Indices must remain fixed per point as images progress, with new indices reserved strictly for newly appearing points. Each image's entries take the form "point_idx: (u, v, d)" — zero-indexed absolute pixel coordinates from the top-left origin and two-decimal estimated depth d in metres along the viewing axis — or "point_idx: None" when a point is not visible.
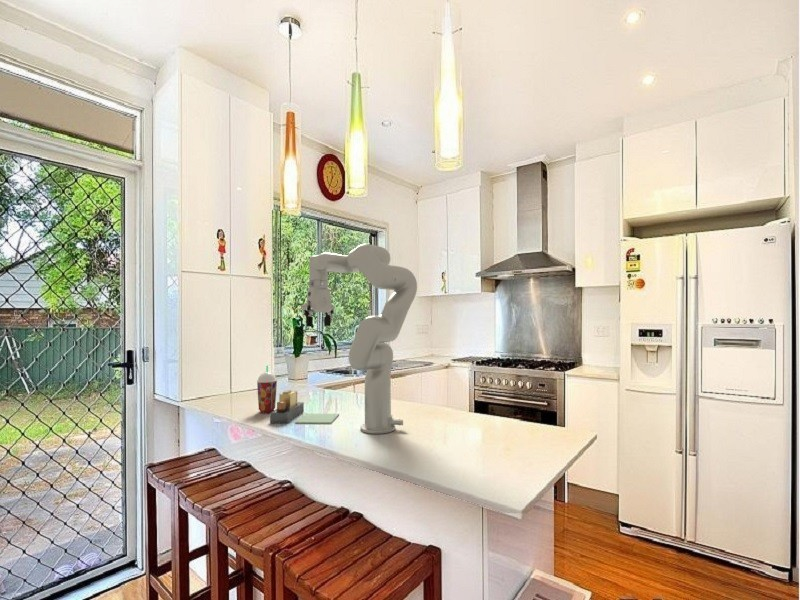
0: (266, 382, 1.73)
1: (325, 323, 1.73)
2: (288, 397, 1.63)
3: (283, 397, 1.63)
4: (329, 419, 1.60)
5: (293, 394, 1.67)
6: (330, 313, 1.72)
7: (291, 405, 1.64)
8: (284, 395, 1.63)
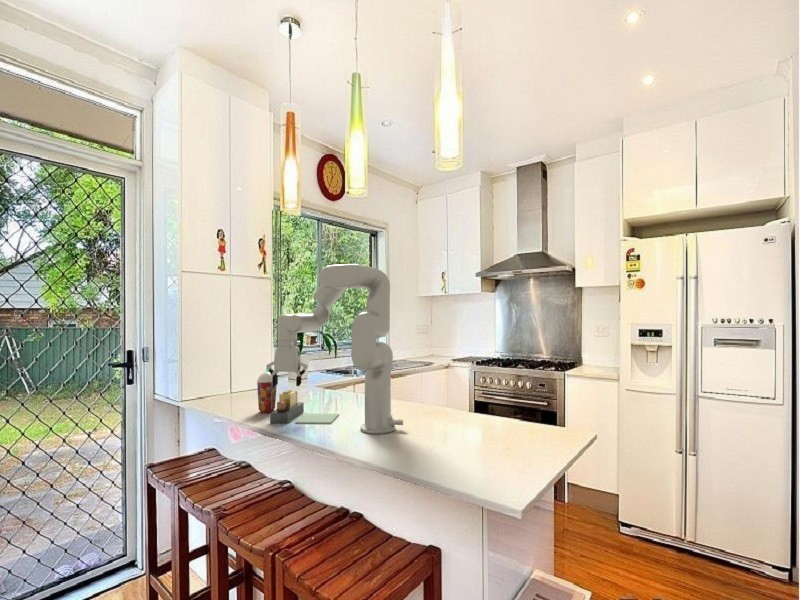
0: (266, 382, 1.73)
1: (275, 383, 1.67)
2: (288, 397, 1.63)
3: (283, 397, 1.63)
4: (329, 419, 1.60)
5: (293, 394, 1.67)
6: None
7: (291, 405, 1.64)
8: (284, 395, 1.63)
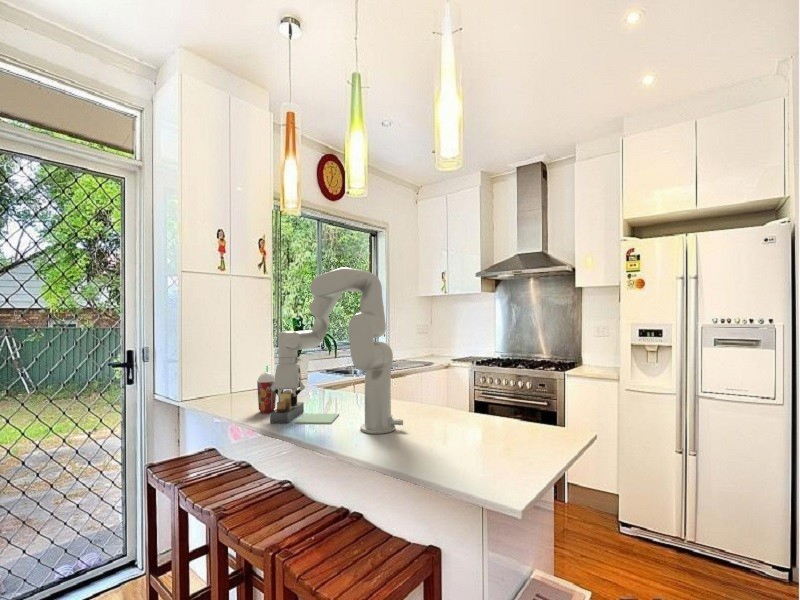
0: (266, 382, 1.73)
1: None
2: (288, 397, 1.63)
3: (283, 397, 1.63)
4: (329, 419, 1.60)
5: None
6: (280, 392, 1.69)
7: (291, 405, 1.64)
8: (284, 395, 1.63)
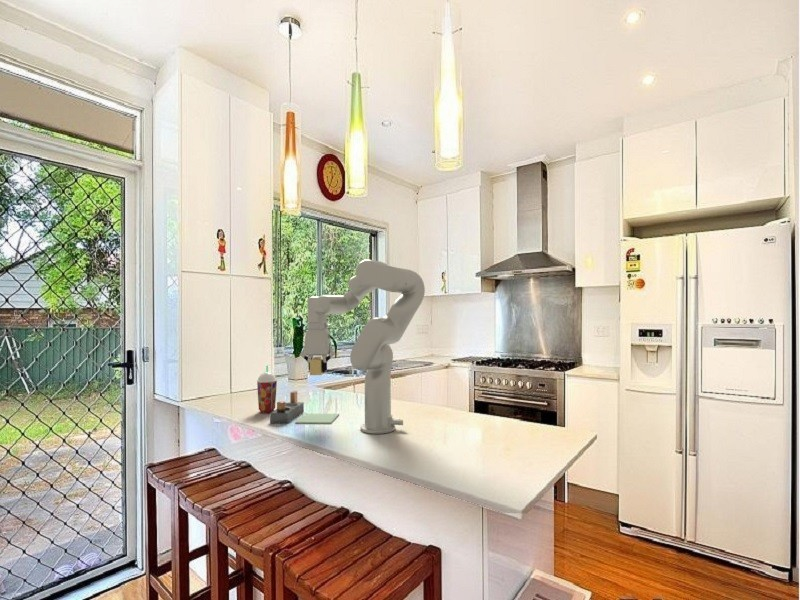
0: (266, 382, 1.73)
1: None
2: (318, 363, 1.60)
3: (313, 363, 1.60)
4: (329, 419, 1.60)
5: None
6: None
7: (321, 371, 1.61)
8: (314, 361, 1.60)
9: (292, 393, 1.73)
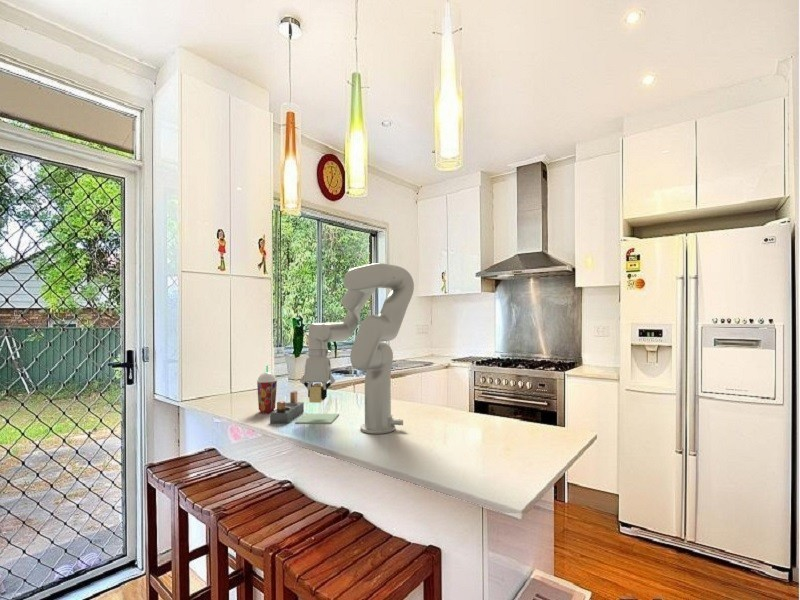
0: (266, 382, 1.73)
1: None
2: (318, 390, 1.60)
3: (313, 390, 1.60)
4: (329, 419, 1.60)
5: None
6: None
7: (321, 398, 1.61)
8: (314, 388, 1.60)
9: (292, 393, 1.73)
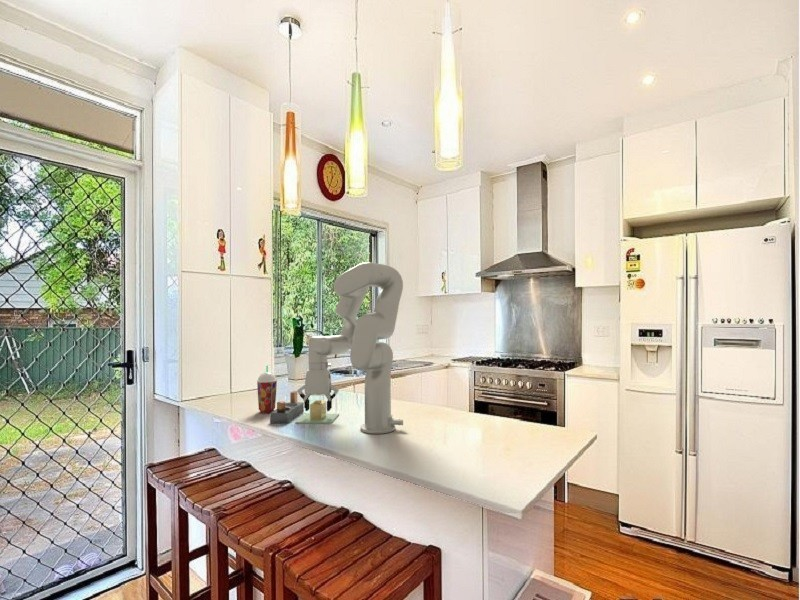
0: (266, 382, 1.73)
1: (307, 408, 1.62)
2: (319, 408, 1.59)
3: (314, 407, 1.59)
4: (329, 419, 1.60)
5: (323, 404, 1.63)
6: None
7: (322, 415, 1.60)
8: (315, 405, 1.59)
9: (292, 393, 1.73)
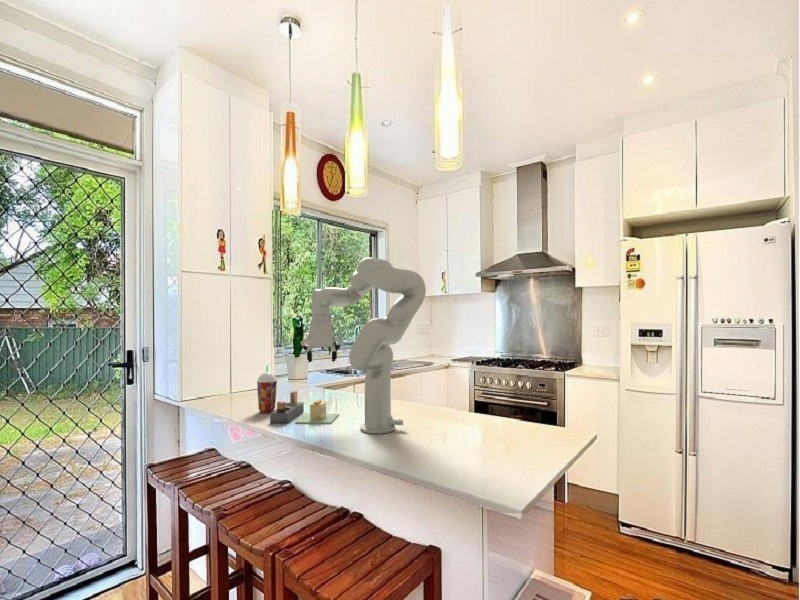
0: (266, 382, 1.73)
1: (310, 359, 1.64)
2: (319, 408, 1.59)
3: (314, 407, 1.59)
4: (329, 419, 1.60)
5: (323, 404, 1.63)
6: None
7: (322, 415, 1.60)
8: (315, 405, 1.59)
9: (292, 393, 1.73)
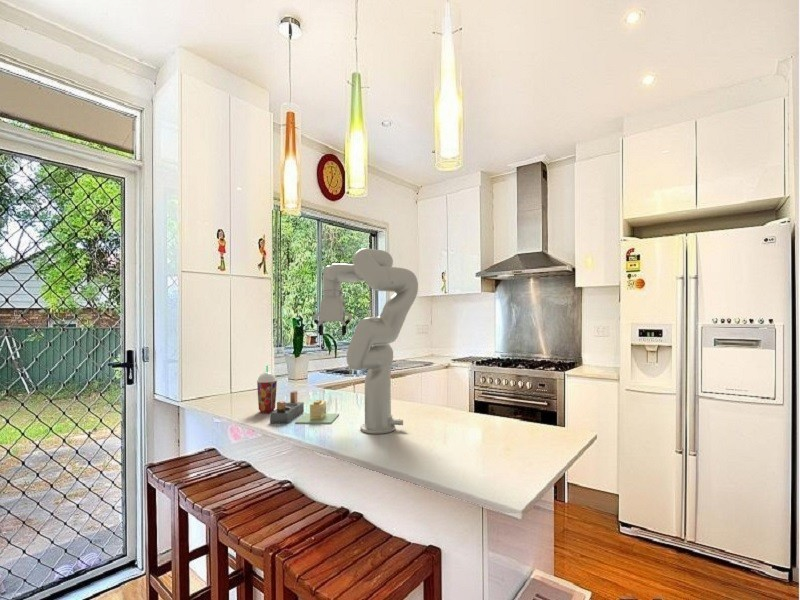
0: (266, 382, 1.73)
1: (321, 332, 1.71)
2: (319, 408, 1.59)
3: (314, 407, 1.59)
4: (329, 419, 1.60)
5: (323, 404, 1.63)
6: None
7: (322, 415, 1.60)
8: (315, 405, 1.59)
9: (292, 393, 1.73)
